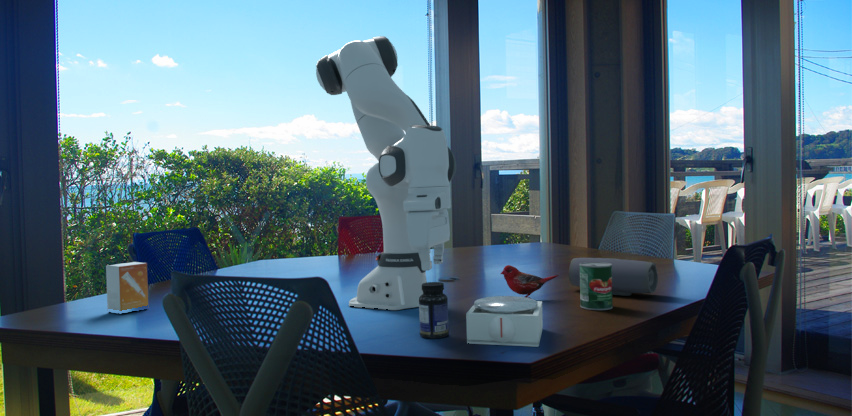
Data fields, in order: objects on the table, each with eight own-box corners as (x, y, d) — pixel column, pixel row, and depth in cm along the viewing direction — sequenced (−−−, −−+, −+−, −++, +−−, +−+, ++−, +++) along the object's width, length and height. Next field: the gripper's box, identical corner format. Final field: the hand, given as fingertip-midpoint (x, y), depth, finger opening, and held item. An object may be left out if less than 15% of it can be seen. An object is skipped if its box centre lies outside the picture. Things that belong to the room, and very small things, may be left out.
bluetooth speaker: (567, 292, 161) (567, 258, 161) (581, 287, 168) (580, 254, 168) (647, 300, 146) (647, 263, 146) (659, 294, 153) (658, 259, 153)
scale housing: (466, 344, 110) (465, 314, 109) (478, 326, 124) (478, 299, 124) (538, 347, 106) (537, 316, 106) (542, 328, 120) (542, 301, 120)
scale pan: (469, 326, 111) (469, 307, 110) (480, 312, 123) (479, 295, 123) (535, 329, 107) (535, 309, 107) (539, 314, 120) (539, 296, 120)
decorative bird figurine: (498, 301, 150) (497, 265, 150) (556, 296, 155) (555, 260, 155) (503, 303, 147) (502, 266, 147) (561, 298, 153) (561, 262, 152)
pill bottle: (449, 331, 120) (448, 281, 120) (448, 339, 114) (446, 285, 114) (421, 331, 121) (420, 281, 120) (418, 339, 114) (416, 286, 114)
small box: (120, 315, 146) (118, 266, 146) (107, 313, 149) (104, 265, 149) (149, 309, 153) (147, 262, 153) (136, 307, 156) (133, 261, 156)
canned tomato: (590, 302, 146) (589, 261, 145) (618, 306, 140) (617, 263, 140) (574, 307, 140) (573, 264, 140) (602, 312, 135) (601, 267, 134)
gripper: (428, 201, 127) (431, 261, 127) (400, 203, 107) (403, 274, 108) (455, 199, 125) (458, 260, 126) (431, 201, 106) (435, 273, 106)
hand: (432, 266), depth 116 cm, fingers open, 8 cm apart
